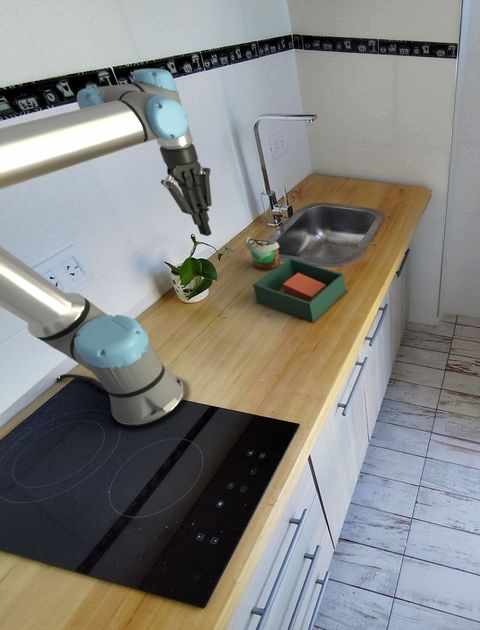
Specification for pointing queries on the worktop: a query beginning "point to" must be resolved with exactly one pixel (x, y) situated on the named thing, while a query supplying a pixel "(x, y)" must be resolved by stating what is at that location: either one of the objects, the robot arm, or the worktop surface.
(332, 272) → the bin
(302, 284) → the carton
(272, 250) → the food container
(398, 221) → the worktop surface
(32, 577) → the worktop surface
